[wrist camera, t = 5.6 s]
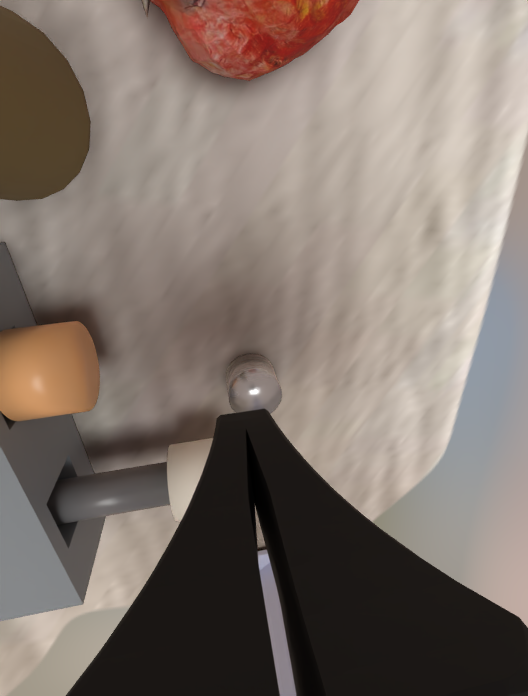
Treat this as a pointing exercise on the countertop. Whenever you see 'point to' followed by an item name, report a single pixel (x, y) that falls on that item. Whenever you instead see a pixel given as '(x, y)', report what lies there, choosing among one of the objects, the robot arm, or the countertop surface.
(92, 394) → the orange knob
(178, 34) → the pomegranate
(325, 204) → the countertop surface
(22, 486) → the mount
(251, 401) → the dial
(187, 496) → the cream knob
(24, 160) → the cork
